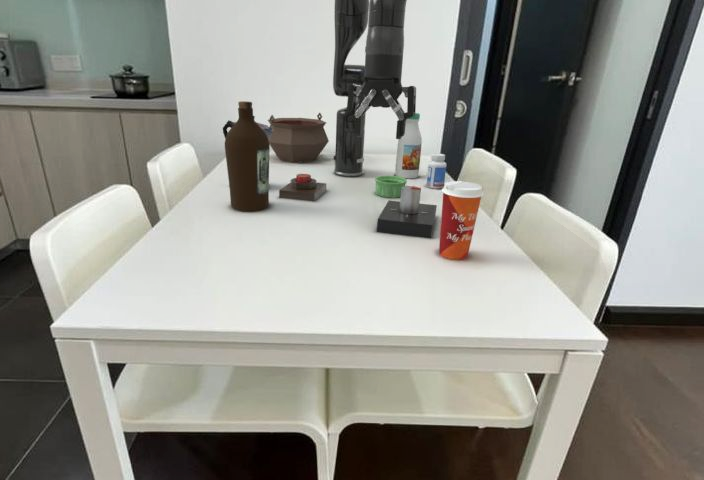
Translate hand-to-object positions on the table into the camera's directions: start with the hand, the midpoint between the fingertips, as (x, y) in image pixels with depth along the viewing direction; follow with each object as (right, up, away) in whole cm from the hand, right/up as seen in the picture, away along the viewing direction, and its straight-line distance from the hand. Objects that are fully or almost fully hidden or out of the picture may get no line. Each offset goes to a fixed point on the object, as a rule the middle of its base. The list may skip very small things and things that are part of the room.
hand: (378, 137), depth 99 cm
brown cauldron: (-24, +15, +76) cm, 81 cm away
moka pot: (-34, -4, +37) cm, 50 cm away
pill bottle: (+21, -2, +44) cm, 49 cm away
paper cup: (+14, -25, -6) cm, 30 cm away
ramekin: (+6, -6, +34) cm, 35 cm away
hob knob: (+8, -14, +9) cm, 19 cm away
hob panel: (+8, -17, +10) cm, 22 cm away
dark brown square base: (-18, -7, +31) cm, 37 cm away
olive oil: (-31, -12, +19) cm, 38 cm away
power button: (-18, -3, +30) cm, 35 cm away
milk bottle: (+14, +4, +56) cm, 58 cm away
